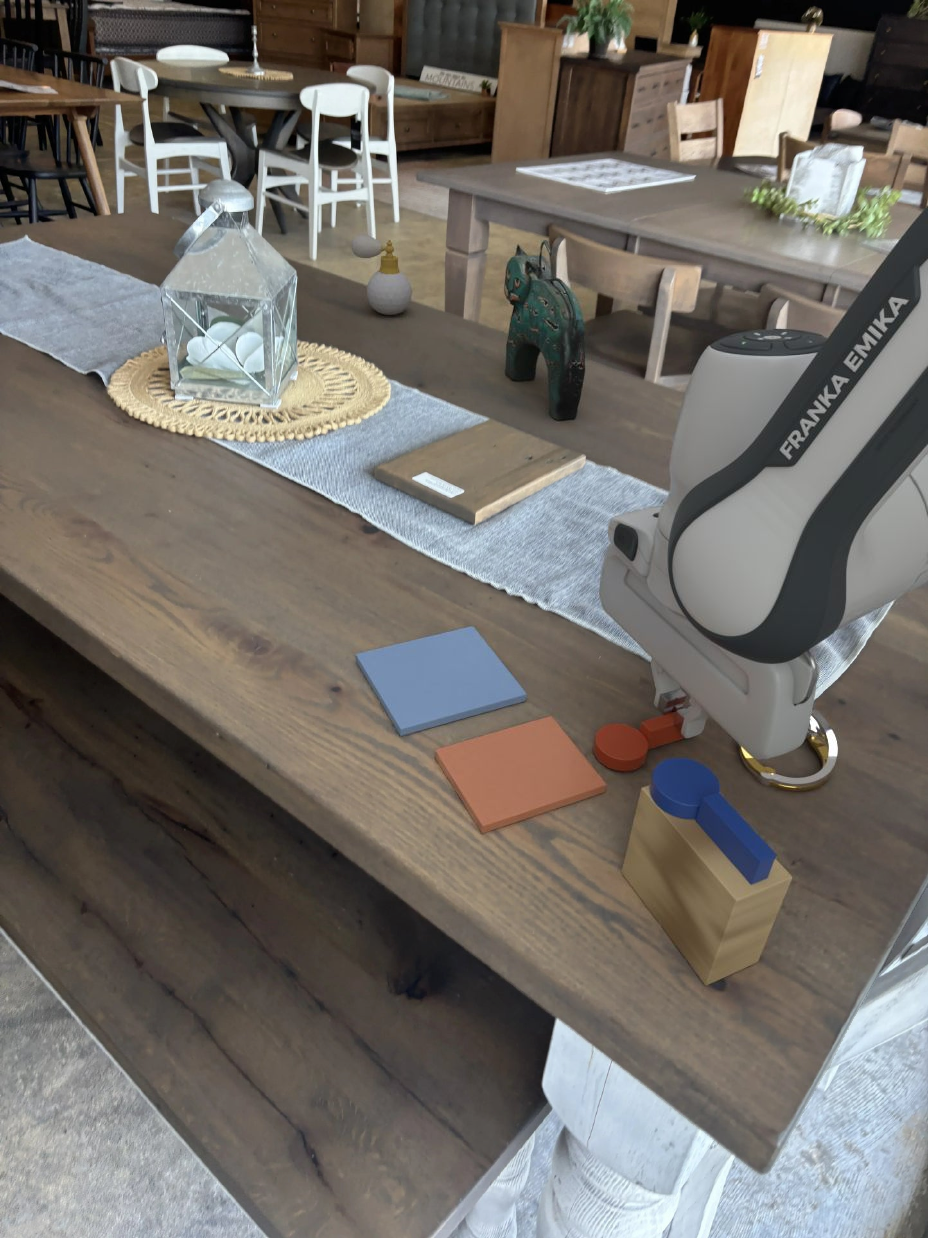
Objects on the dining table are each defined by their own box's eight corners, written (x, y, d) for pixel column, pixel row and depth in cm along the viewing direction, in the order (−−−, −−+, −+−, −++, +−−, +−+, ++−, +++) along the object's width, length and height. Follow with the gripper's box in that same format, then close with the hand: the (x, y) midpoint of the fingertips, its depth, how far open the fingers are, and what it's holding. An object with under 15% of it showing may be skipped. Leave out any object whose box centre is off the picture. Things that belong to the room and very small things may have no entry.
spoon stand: (758, 962, 55) (793, 877, 50) (705, 986, 53) (736, 901, 49) (670, 853, 61) (693, 769, 57) (620, 872, 60) (640, 787, 55)
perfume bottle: (414, 319, 151) (416, 243, 144) (356, 320, 149) (355, 243, 142) (407, 305, 157) (408, 232, 150) (351, 306, 155) (349, 231, 148)
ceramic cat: (493, 370, 134) (503, 226, 122) (533, 367, 135) (548, 224, 124) (547, 424, 119) (565, 265, 107) (592, 420, 120) (614, 263, 109)
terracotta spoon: (678, 713, 73) (683, 694, 72) (709, 745, 70) (715, 726, 69) (583, 742, 69) (586, 723, 68) (611, 777, 67) (615, 758, 65)
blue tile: (526, 701, 73) (527, 693, 73) (400, 736, 69) (400, 729, 69) (472, 632, 81) (473, 625, 80) (355, 661, 76) (355, 653, 76)
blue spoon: (787, 870, 50) (796, 846, 49) (730, 893, 49) (739, 869, 48) (688, 763, 57) (695, 740, 56) (636, 781, 55) (641, 758, 54)
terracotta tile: (605, 792, 66) (607, 784, 65) (482, 834, 62) (482, 826, 61) (550, 723, 71) (551, 715, 71) (434, 757, 68) (434, 749, 67)
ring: (804, 818, 66) (850, 750, 70) (813, 791, 64) (860, 722, 68) (718, 771, 70) (767, 709, 74) (723, 744, 67) (773, 682, 72)
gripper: (863, 643, 55) (802, 801, 63) (665, 494, 70) (636, 638, 78) (783, 667, 53) (731, 828, 61) (596, 508, 68) (574, 654, 76)
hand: (677, 720), depth 70 cm, fingers closed on terracotta spoon, 1 cm apart
